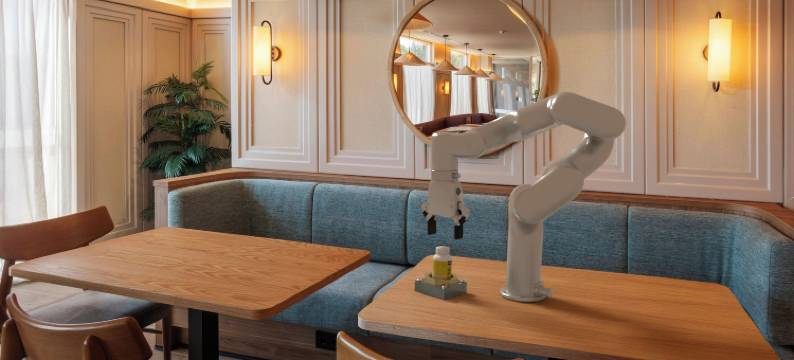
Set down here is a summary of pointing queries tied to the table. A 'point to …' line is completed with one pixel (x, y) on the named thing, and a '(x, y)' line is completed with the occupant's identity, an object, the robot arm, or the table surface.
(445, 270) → the supplement bottle
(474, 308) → the table surface
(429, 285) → the octagonal bottle holder
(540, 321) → the table surface
